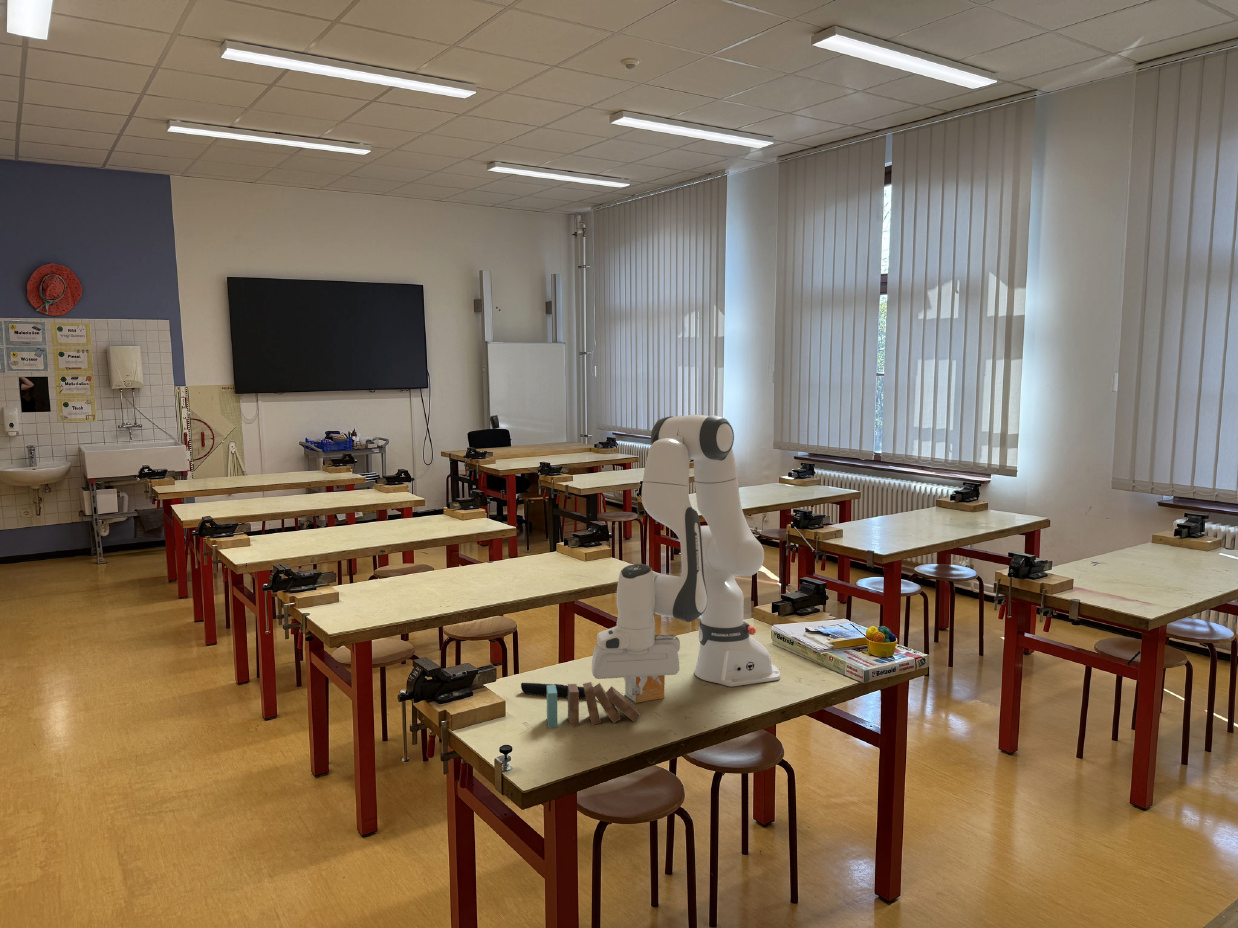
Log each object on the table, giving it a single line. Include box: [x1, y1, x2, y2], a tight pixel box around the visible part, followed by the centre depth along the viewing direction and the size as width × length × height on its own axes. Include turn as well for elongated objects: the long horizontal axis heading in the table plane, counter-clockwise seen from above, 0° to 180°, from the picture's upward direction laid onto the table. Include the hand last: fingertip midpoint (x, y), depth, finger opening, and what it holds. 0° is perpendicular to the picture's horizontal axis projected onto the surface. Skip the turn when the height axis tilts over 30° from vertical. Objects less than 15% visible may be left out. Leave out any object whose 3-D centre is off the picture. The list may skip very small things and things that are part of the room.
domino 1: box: [546, 684, 558, 729], centre depth 190 cm, size 2×5×8 cm, turn 10°
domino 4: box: [593, 682, 622, 724], centre depth 192 cm, size 2×5×8 cm
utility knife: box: [520, 682, 586, 699], centre depth 206 cm, size 22×4×3 cm, turn 79°
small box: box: [624, 675, 666, 704], centre depth 206 cm, size 8×6×13 cm
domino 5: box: [605, 685, 641, 723], centre depth 193 cm, size 2×5×8 cm
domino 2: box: [567, 683, 580, 727], centre depth 191 cm, size 2×5×8 cm, turn 9°
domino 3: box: [582, 681, 601, 726], centre depth 192 cm, size 2×5×8 cm, turn 9°
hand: (635, 693), depth 193 cm, fingers closed
